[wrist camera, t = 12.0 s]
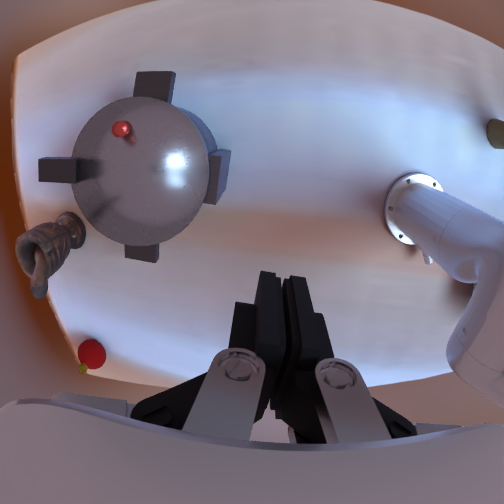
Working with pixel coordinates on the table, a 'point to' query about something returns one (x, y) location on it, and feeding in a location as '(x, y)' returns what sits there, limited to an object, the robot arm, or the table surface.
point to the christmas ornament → (91, 355)
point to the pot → (162, 89)
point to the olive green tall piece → (496, 133)
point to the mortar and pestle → (48, 249)
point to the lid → (136, 171)
